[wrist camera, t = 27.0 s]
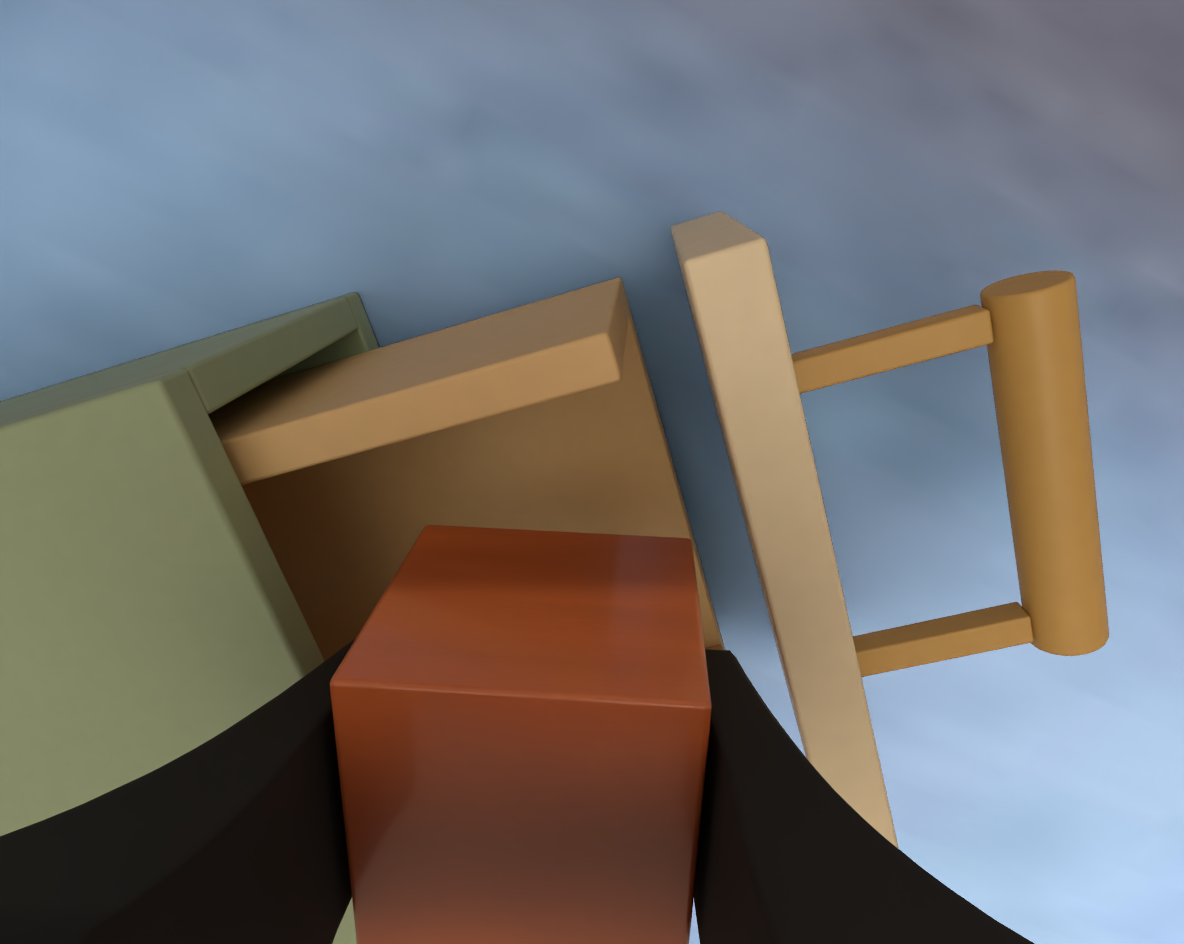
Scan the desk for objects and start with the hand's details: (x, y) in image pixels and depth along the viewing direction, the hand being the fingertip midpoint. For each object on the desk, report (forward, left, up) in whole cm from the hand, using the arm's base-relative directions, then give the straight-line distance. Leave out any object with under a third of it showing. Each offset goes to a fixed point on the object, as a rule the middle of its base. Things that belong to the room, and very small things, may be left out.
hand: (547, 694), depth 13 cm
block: (0, 0, -1) cm, 1 cm away
